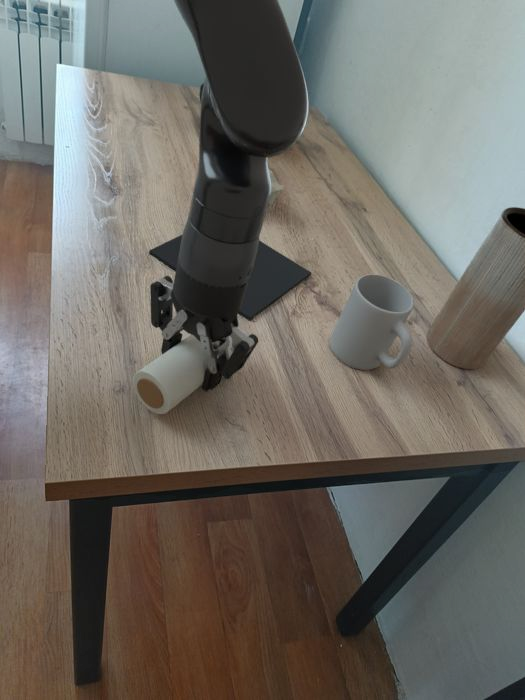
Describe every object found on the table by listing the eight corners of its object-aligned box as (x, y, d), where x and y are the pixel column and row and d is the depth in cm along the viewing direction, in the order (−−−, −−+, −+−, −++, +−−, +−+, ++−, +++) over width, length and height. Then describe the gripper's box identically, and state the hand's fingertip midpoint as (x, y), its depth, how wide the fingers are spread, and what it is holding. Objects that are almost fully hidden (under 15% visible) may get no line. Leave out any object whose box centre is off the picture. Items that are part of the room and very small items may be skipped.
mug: (317, 335, 80) (343, 276, 73) (361, 325, 84) (389, 270, 77) (363, 394, 74) (397, 337, 66) (408, 381, 78) (444, 326, 70)
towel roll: (128, 395, 62) (133, 362, 58) (206, 339, 72) (214, 308, 68) (164, 424, 61) (171, 392, 57) (239, 362, 71) (249, 332, 67)
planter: (418, 322, 89) (491, 200, 74) (471, 330, 91) (553, 213, 76) (436, 366, 82) (521, 241, 67) (493, 373, 84) (588, 254, 69)
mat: (148, 253, 84) (149, 250, 84) (219, 219, 96) (220, 216, 96) (249, 320, 79) (250, 317, 78) (310, 275, 91) (311, 272, 91)
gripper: (137, 237, 54) (124, 354, 65) (250, 313, 50) (215, 424, 61) (186, 216, 59) (166, 327, 70) (292, 283, 55) (253, 390, 66)
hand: (189, 372), depth 66 cm, fingers closed on towel roll, 5 cm apart
